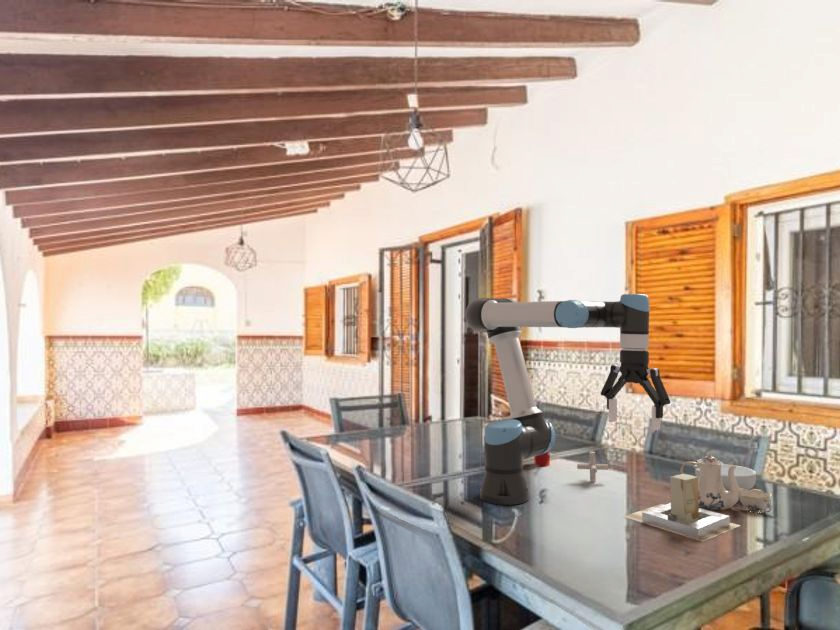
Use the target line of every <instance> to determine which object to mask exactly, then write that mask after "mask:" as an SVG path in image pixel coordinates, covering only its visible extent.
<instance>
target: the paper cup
mask: <svg viewBox="0 0 840 630" xmlns="http://www.w3.org/2000/svg"><path fill="white" fill-rule="evenodd" d="M533 458H534V459H533V460H534V466H537V465H538V466H537V467H549V466H550V462H551V449H550V450H549V451H548V452H546V453H544V454H542V455H540V456H534V457H533ZM548 465H549V466H548Z"/></svg>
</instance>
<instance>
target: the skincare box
mask: <svg viewBox="0 0 840 630" xmlns="http://www.w3.org/2000/svg"><path fill="white" fill-rule="evenodd" d="M669 477H670V480H669V481H670V482H669V484H670V503H671V514H674V515H677V518H678V519H682V520H685V521H689V522H692V523H693V522H696V521H698V520H699V508H700V507H699V501H698V477H696V475H691V474H686V473H683V474H681V473H680V474H675V475H673V476H669Z"/></svg>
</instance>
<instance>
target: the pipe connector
mask: <svg viewBox="0 0 840 630" xmlns="http://www.w3.org/2000/svg"><path fill="white" fill-rule="evenodd" d="M576 466H577V467H576V468H577V469H578V470H589V482H590V483H593V484H594V483H596V482H597V481H596V480H597V479H596V476H597V475H596V474H597V472H598V470H600V471H602V470H604V471H608V470H609V464H607V463H606V464H602V463H601V464H600V463H596V452H595V451H589V460H588V462H587V463H576Z"/></svg>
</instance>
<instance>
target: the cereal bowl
mask: <svg viewBox="0 0 840 630" xmlns="http://www.w3.org/2000/svg"><path fill="white" fill-rule="evenodd" d="M733 465H734V464H727V463H723V464H722V466H721V479H722V483H723V486H724V488H725V490H727V491H730V484H729V478H728V470H729V468H730V467H731V466H733ZM735 465H736V464H735ZM736 466H737V467H736V468H735V469H734V475H735V478H736V481H737V484H738V486H739V489H741V488H742V489H746V490H752V488H753V487H754V486H755V484H756V482H757V471H755V470H754V469H752V468H749V467H746V466H742V465H741V466H740V465H736ZM694 472H695V473H694V474H695V476H696V477H698V478H699V476H700V468H697V469H695V468H694Z"/></svg>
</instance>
